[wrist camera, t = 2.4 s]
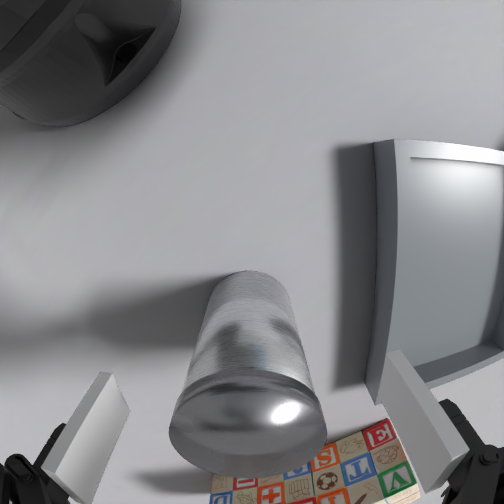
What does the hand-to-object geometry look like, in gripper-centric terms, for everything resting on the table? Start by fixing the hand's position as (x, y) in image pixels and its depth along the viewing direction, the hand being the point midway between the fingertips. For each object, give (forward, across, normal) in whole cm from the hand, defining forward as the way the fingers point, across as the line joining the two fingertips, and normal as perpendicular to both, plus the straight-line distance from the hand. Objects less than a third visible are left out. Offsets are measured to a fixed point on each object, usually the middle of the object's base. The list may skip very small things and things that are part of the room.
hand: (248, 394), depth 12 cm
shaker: (+8, 0, 0) cm, 8 cm away
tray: (+8, +17, +2) cm, 19 cm away
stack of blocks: (+8, +4, -21) cm, 23 cm away
